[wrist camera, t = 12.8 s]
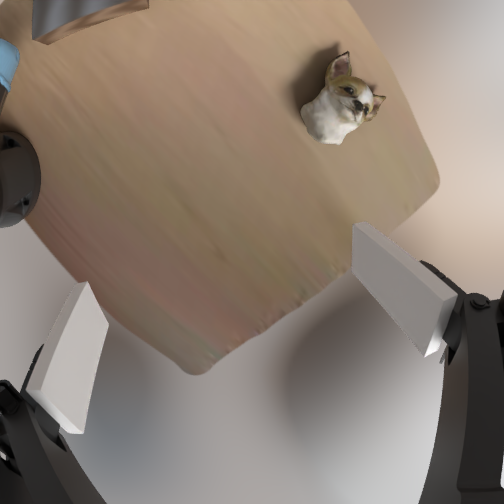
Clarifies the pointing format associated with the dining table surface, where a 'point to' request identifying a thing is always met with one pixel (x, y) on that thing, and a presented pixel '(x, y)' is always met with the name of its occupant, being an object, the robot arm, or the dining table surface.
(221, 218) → the dining table surface
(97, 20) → the block
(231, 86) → the dining table surface
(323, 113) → the ceramic sculpture
